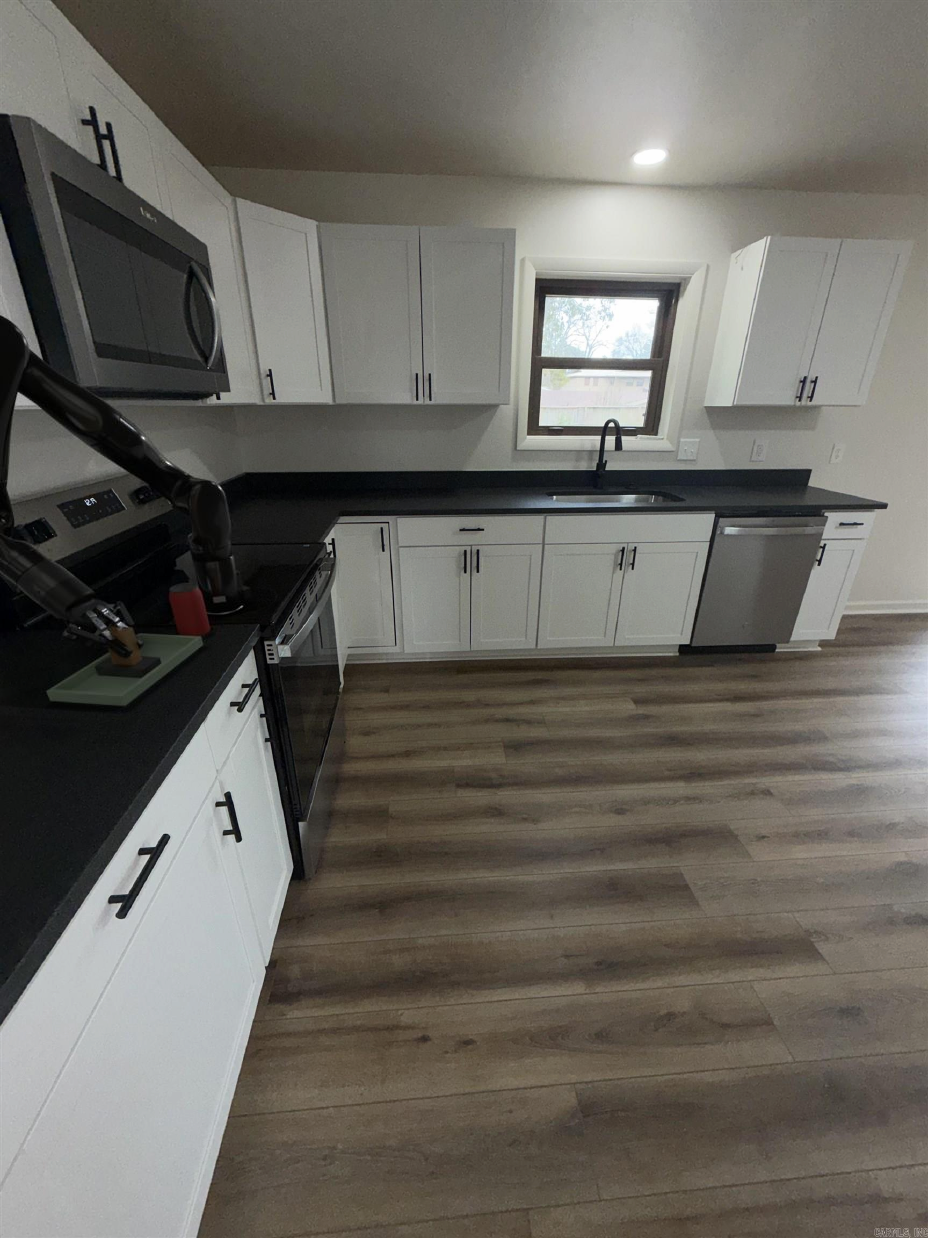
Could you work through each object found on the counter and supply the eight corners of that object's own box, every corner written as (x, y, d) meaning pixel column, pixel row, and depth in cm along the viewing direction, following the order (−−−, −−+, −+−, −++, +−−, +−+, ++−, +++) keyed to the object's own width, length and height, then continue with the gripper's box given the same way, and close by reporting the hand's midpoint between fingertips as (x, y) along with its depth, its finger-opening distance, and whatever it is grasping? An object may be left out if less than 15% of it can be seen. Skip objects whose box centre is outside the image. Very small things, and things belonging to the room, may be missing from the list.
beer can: (198, 642, 112) (186, 593, 107) (173, 640, 113) (159, 591, 108) (217, 630, 117) (206, 582, 113) (192, 627, 119) (181, 580, 114)
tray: (142, 645, 111) (139, 633, 109) (204, 648, 109) (201, 636, 108) (51, 705, 89) (45, 691, 88) (126, 710, 88) (121, 696, 87)
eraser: (97, 675, 97) (83, 634, 93) (116, 662, 101) (103, 623, 97) (145, 678, 96) (132, 636, 92) (162, 665, 100) (150, 625, 96)
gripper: (31, 590, 85) (117, 657, 89) (95, 565, 97) (168, 624, 101) (14, 617, 88) (99, 681, 91) (79, 589, 100) (150, 646, 104)
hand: (135, 651), depth 96 cm, fingers closed on eraser, 2 cm apart
